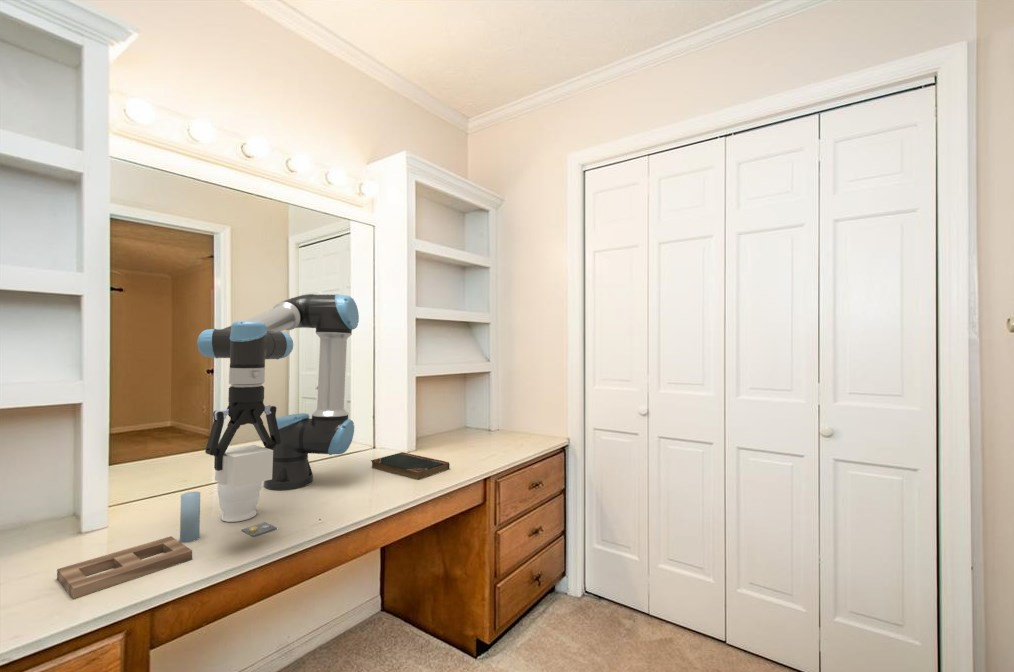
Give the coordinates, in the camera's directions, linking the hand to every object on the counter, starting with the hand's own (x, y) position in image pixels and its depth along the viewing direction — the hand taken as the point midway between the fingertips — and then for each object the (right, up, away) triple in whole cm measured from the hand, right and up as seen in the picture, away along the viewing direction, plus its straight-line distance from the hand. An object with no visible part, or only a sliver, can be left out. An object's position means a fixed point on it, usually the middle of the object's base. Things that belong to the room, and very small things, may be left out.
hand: (244, 478), depth 112 cm
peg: (-15, -16, +3) cm, 22 cm away
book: (+26, -17, +67) cm, 74 cm away
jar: (-11, -16, +17) cm, 26 cm away
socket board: (-18, -16, -12) cm, 27 cm away
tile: (-1, -16, +9) cm, 18 cm away
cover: (0, 0, 0) cm, 0 cm away
